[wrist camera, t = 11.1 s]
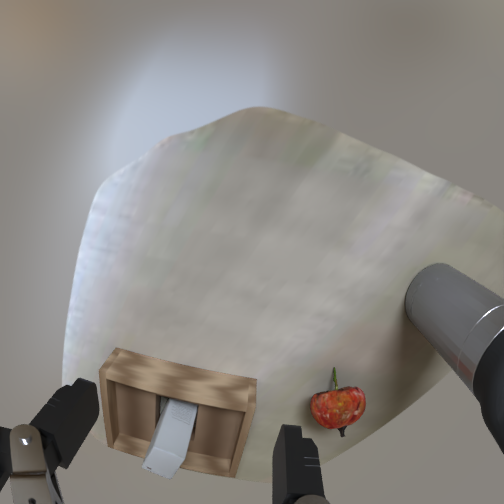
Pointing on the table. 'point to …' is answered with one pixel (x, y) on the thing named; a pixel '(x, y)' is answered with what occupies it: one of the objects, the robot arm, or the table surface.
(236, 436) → the crate
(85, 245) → the table surface
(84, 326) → the table surface
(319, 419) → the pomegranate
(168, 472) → the skincare box
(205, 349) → the table surface
